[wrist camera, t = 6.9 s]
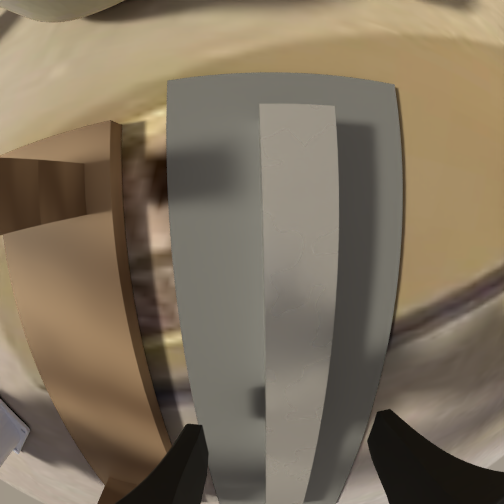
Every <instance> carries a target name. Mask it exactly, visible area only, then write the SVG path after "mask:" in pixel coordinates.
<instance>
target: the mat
mask: <svg viewBox="0 0 504 504" xmlns="http://www.w3.org/2000/svg"><path fill="white" fill-rule="evenodd" d="M259 104H312V105H329V106H335V116H336V130H337V148H338V174H339V243H338V270H337V288H336V303H335V316H334V327H333V338H332V347H331V356H330V364H329V372H328V380H327V387H326V394H325V400H324V407H323V413H322V419H321V424H320V430H319V435H318V440H317V446H316V450H315V455H314V460H313V465H312V469H311V473H310V478H309V482H308V486H307V490H306V494H305V498H304V502H303V504H336V502H337V500H338V497H339V495H340V493H341V491H342V489H343V486H344V484H345V482H346V480H347V477H348V475H349V472H350V470H351V467H352V465H353V462H354V460H355V457H356V455H357V452H358V449H359V447H360V444H361V441H362V438H363V435H364V432H365V429H366V426H367V423H368V420H369V417H370V413H371V410H372V407H373V403H374V400H375V396H376V393H377V389H378V385H379V381H380V377H381V373H382V369H383V364H384V360H385V355H386V351H387V346H388V341H389V335H390V330H391V324H392V318H393V312H394V305H395V298H396V291H397V282H398V273H399V263H400V251H401V235H402V208H403V179H402V152H401V137H400V125H399V115H398V107H397V99H396V92H395V85H394V84H389V83H383V82H378V81H372V80H365V79H358V78H351V77H342V76H333V75H321V74H306V73H235V74H220V75H208V76H198V77H190V78H182V79H175V80H169V81H168V83H167V123H166V144H167V185H168V206H169V222H170V236H171V249H172V260H173V270H174V279H175V288H176V297H177V305H178V312H179V320H180V327H181V334H182V340H183V347H184V353H185V359H186V365H187V370H188V376H189V381H190V387H191V392H192V397H193V402H194V407H195V411H196V416H197V421H198V425H203V430H204V435H205V439H206V444H207V448H208V452H209V456H208V466H209V469H210V473H211V477H212V480H213V484H214V487H215V491H216V494H217V497H218V501H219V504H265V375H264V310H263V261H262V221H261V186H260V155H259V126H258V119H259Z"/></svg>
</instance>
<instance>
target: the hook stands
mask: <svg viewBox="0 0 504 504" xmlns="http://www.w3.org/2000/svg"><path fill="white" fill-rule="evenodd" d="M121 137H122V125H120V124H118V123H116V122H113V121H111V120H110V121H105V122H101V123H97V124H93V125H89V126H85V127H81V128H78V129H74V130H71V131H67V132H64V133H61V134H57V135H54V136H51V137H48V138H45V139H42V140H39V141H36V142H33V143H31V144H28V145H25V146H23V147H20V148H17V149H15V150H12V151H10V152H7V153H5V154H3V155H0V235H3V239H4V246H5V253H6V259H7V265H8V270H9V275H10V280H11V285H12V289H13V294H14V298H15V302H16V305H17V309H18V313H19V316H20V320H21V323H22V326H23V330H24V333H25V336H26V339H27V342H28V344H29V347H30V350H31V353H32V355H33V358H34V361H35V363H36V366H37V368H38V371H39V373H40V375H41V378H42V380H43V382H44V385H45V387H46V389H47V391H48V393H49V395H50V397H51V400H52V402H53V404H54V406H55V408H56V409H57V411H58V413H59V415H60V417H61V419H62V421H63V423H64V424H65V426H66V428H67V430H68V431H69V433H70V435H71V436H72V438H73V440H74V441H75V443H76V445H77V446H78V448H79V449H80V451H81V453H82V454H83V456H84V457H85V459H86V460H87V462H88V463H89V464H90V466H91V467H92V469H93V470H94V472H95V473H96V474H97V476H98V477H99V478H100V480H101V481H102V482H103V484H104V485H105V487H104V490H103V492H102V494H101V497H100V499H99V501H98V504H114V503H116V502H117V501H119V500H120V499H122V498H123V497H124V496H125V495H127V494H128V493H129V492H131V491H132V490H133V489H134V488H135V487H137V486H138V485H139V484H140V483H141V482H142V481H143V480H144V479H145V478H146V477H147V476H148V475H149V474H150V473H151V472H152V471H153V470H154V468H155V467H156V466H157V465H158V464H159V463H160V462H161V460H162V459H163V458H164V456H165V455H166V454H167V453H168V451H169V450H170V449H171V447H172V445H171V442H170V439H169V436H168V433H167V430H166V427H165V424H164V421H163V418H162V415H161V412H160V408H159V405H158V402H157V398H156V395H155V391H154V388H153V384H152V380H151V376H150V373H149V369H148V365H147V361H146V356H145V352H144V348H143V343H142V339H141V334H140V329H139V324H138V319H137V313H136V308H135V302H134V296H133V290H132V284H131V277H130V270H129V262H128V254H127V245H126V235H125V224H124V211H123V194H122V163H121Z"/></svg>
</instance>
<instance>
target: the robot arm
mask: <svg viewBox="0 0 504 504" xmlns="http://www.w3.org/2000/svg"><path fill="white" fill-rule="evenodd" d="M29 432H30V429H29V428H28V426H27V425H26V424H25V423H24V422H23V421H21V420H20V419H19V418H18V417H17V416H16V415H15V414H14V413H13V412H12V410H11V409H10V408H9V407H8V406H7V405H6V404H5V403H4V402H3V401H2V400H1V399H0V467H1V466H2V464H3V463H4V461H5V460H6V459H7V457H8V456H9V455H10V453H11V452H12V451H14V452H15V453H17V454H19V453H20V451H21V449H22V447H23V445H24V443H25V441H26V438H27V436H28V434H29ZM367 442H368V446H369V450H370V454H371V458H372V461H373V464H374V466H375V468H376V471H377V473H378V476H379V478H380V481H381V483H382V485H383V488H384V490H385V493H386V495H387V498H388V501H389V504H504V472H499V471H493V470H489V469H485V468H482V467H479V466H475V465H473V464H470V463H468V462H465V461H463V460H460V459H458V458H456V457H454V456H452V455H450V454H449V453H447V452H445V451H443V450H442V449H440V448H439V447H437V446H436V445H434V444H433V443H431V442H430V441H428V440H427V439H425V438H424V437H423V436H422V435H420V434H419V433H418V432H416V431H415V430H414V429H413V428H412V427H410V426H409V425H408V424H407V423H406V422H404V421H403V420H402V419H401V418H400V417H399V416H398V415H396V414H395V413H394V412H393V411H392V410H390V409H388V410H383V411H379V412H377V414H376V417H375V421H374V424H373V426H372V429H371V432H370V435H369V438H368V441H367ZM208 456H209V452H208V448H207V444H206V439H205V435H204V430H203V425H196V424H187V425H185V427H184V429H183V430H182V432H181V434H180V435H179V437H178V438H177V440H176V441H175V443H174V444H173V446H172V447H171V449H170V450H169V451H168V453H167V454H166V455H165V456H164V458H163V459H162V460H161V462H160V463H159V464H158V465H157V466H156V467H155V468H154V470H153V471H152V472H151V473H150V474H149V475H148V476H147V477H146V478H145V479H144V480H143V481H142V482H141V483H140V484H139V485H138V486H137V487H135V488H134V489H133V490H132V491H131V492H129V493H128V494H127V495H125V496H124V497H123V498H122V499H120V500H119V501H117V502H116V503H114V504H200V503H201V499H202V494H203V490H204V485H205V481H206V476H207V468H208Z"/></svg>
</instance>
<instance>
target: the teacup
mask: <svg viewBox="0 0 504 504" xmlns="http://www.w3.org/2000/svg"><path fill="white" fill-rule="evenodd" d="M122 1H124V0H0V7H1V8H3V9H6V10H8V11H11V12H13V13H16V14H18V15H21V16H24V17H26V18H29V19H33V20H36V21H41V22H64V21H70V20H75V19H79V18H82V17H86V16H89V15H92V14H94V13H97V12H100V11H103V10H105V9H107V8H109V7H112V6H114V5H116V4H118V3H120V2H122Z"/></svg>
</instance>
